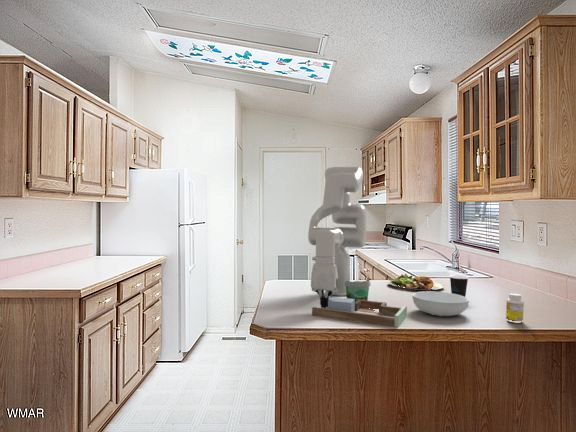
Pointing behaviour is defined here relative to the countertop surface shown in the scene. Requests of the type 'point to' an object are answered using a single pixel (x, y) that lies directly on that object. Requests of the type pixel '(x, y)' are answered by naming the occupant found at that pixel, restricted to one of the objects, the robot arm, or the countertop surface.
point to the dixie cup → (458, 284)
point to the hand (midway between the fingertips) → (324, 307)
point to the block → (341, 304)
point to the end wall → (400, 316)
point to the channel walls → (361, 316)
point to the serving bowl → (440, 303)
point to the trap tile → (366, 310)
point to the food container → (357, 290)
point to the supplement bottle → (514, 307)
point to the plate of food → (415, 282)
